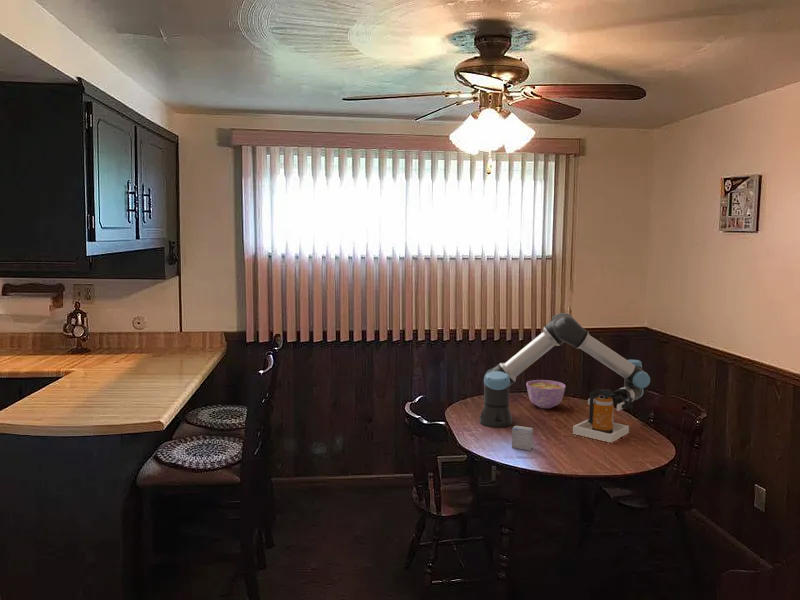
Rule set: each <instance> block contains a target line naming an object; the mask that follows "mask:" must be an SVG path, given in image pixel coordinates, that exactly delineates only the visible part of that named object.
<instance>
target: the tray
mask: <svg viewBox="0 0 800 600" xmlns="http://www.w3.org/2000/svg"><path fill="white" fill-rule="evenodd" d="M592 419H593V417H592ZM628 433H629V434H630V426H629V425H627V424H622V423H617V422H613V433H611V434H608V433H604V432H599V431H595V430H592V424H591V423H589V422H588V419H586V420H584V421H581V422H579V423H577V424H575V425H573V426H572V435H573V434H576V435H581V436H585V437H589V438H593V439H598V440H602V441H607V442H613V441H615V440H617V439H619V438H620V437H622V436H624V435H626V434H628ZM576 435H575V436H576Z"/></svg>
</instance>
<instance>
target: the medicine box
mask: <svg viewBox="0 0 800 600" xmlns="http://www.w3.org/2000/svg"><path fill="white" fill-rule="evenodd" d="M511 431H512V432H511V434H512V435H511V448H512V449H517V448H519V449H518V450H523V449H525V451H531V450H532V449H531V448H533V447H534V445H533V444H534V443H533V441H534V439H533V438H534V437H533V436H534V428H533V427H527V426H521V425H514V426H513V427H512V430H511Z"/></svg>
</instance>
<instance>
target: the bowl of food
mask: <svg viewBox="0 0 800 600" xmlns="http://www.w3.org/2000/svg"><path fill="white" fill-rule="evenodd" d="M526 389H527V395H528V398H529V401H530V402H531V403H532V404H533V405H535V406H537V407H538V408H539V409H552V408H553V407H556V406H558V405H559V404H560V403H561V402H562V400H563V397H564V395H565V391H566V384H564V383H563V382H560V381H556V380H555V381H554V380H549V379H548V380H547V379H546V380H545V379H536V380H535V379H533V380H529V381H526Z"/></svg>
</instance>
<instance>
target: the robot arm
mask: <svg viewBox="0 0 800 600" xmlns="http://www.w3.org/2000/svg"><path fill="white" fill-rule="evenodd" d="M563 343H566V344H568V345H570V346H572V347H573V348H575V349H580V350H582V351H583V352H585V353H586V354H588V355H589V356H591V357H592V358H594V359H595V360H596V361H598V362H600V363H601V364H603V366H606V367H607V368H609V369H610V370H612V371H613V372H615V373H616V374H617V375H619V376H621V377H622V378H623V379H624V382H623V383H624V384H623V387H620V388H618V389H617V390H614V391H613V394H610V396H608V397H611V398H612V399H613V404H616V412H619V411H621V410H625V409H631V410H632V409H633V405H634V403H633V402H634V401H637V400H639V399H640V398H642V397H643V395H644V388H645V389H646V388H647V387H648V386H649V385H650V383H651V377H650V375H649V374H648V373H647V372H646V371H644V369H643V365H642V361H641V360H639V359H626V358H625V357H623V356H622V355H620V354H619V353H617V352H616V351H614V350H612V349H611V348H610V347H608V346H607V345H605V344H604V343H603V342H600V341H599V340H598V339H596V338H595V337H593V336H591V335H590V333H589V331H588V330H586V329H585V328H584V327H583V326H581V325H580V323H579V322H578V321H577V320H576V319H575V318H574V317H573V316H572V315H571V314H568V313H565V312H562V313H558V314H555V315H554V316H552V318H551V320H550V321H549V322H548V323H547V324H545V326H543V329H542V332H541V333H540V334H538V335H537V336H536V337H535V338H534V339H533V340H531V341H530V342H529V343H527V344H526V345H525V346H524V347H523V348H522V349H520V350H519V351H518V352H516V354H514V355H513V356H512V357H510V358H509V359H508V360H507V361H505V362H499V363H497V365H496V366H494V367H491V368H490V369H488V370H487V371H486V373H485V374H484V376H483V385H484V391H483V393H484V395H483V408H482V410H481V413H480V416H479V423H480V424H481V425H483V426H486V427H490V428H491V427H493V428H505V427H510V426H512V424H513V418H512V413H511V411H510V387H511V386H512V385H513V384H514V383H515V382H516V380H517V377H518V376H519V375H520V374H522V373H523V372H524V371H525V370H527V369H528V368H529V367H530V366H531V365H533V364H534V363H535V362H536V361H537V360H539V359H540V358H541V357H542V356H544V355H545V354H546V353H547V352H549V351H550V350H551V349H552V348H554V347H558V346H561V345H563ZM594 402H595V399H593V404H594ZM587 406H590V398H588V399H587Z"/></svg>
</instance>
